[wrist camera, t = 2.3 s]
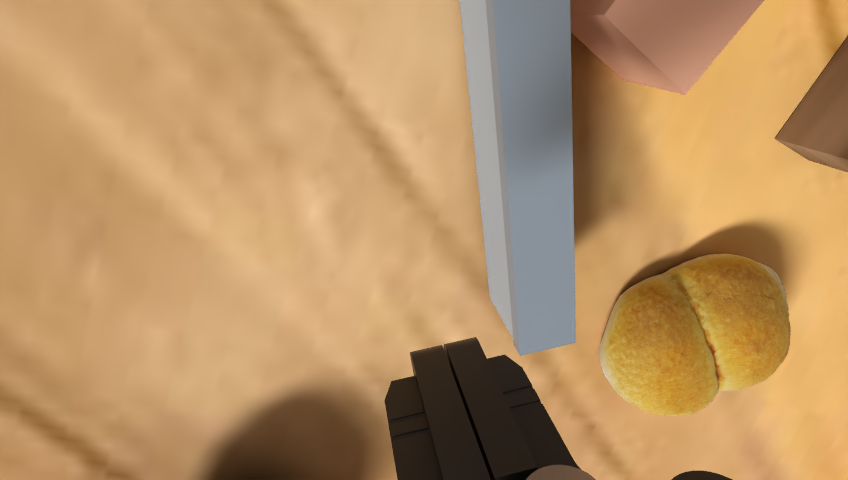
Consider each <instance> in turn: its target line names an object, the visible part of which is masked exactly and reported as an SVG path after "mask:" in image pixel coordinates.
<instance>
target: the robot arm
mask: <svg viewBox="0 0 848 480" xmlns="http://www.w3.org/2000/svg"><path fill="white" fill-rule="evenodd" d="M410 356H411V362H412V367H413V373H414V376H412V377H408V378H403V379H399V380H395V381H391V384H390V387H389V390H388V393H387V395H386V398H385V405H386V411H387V417H388V423H389V430H390V436H391V442H392V448H393V454H394V460H395V466H396V472H397V478H398V480H595V479H594V478H593V477H592V476H591V475H589V474H588V473H586V472H584V471H582V470H581V469H580V468H579V467H578V466H577V464H576V463H575V461H574V460H573V458H572V456H571V454H570V453H569V451H568V449H567V447H566V445H565V444H564V442H563V440H562V438H561V436H560V435H559V433H558V431H557V429H556V427H555V426H554V424H553V422H552V420H551V418H550V417H549V415H548V413H547V411H546V409H545V408H544V406H543V404H541V402H540V399H539V397H538V395H537V393H536V392H535V390H534V389H533V388H532V384H531V383H530V381H529V379H528V377H527V375H526V374H525V372H524V370H523V368H522V367H521V366H519V365H518V364H517V363H515V362H514V361H513V360H511V359H510V358H509V357H507V356H506V355H501V356H497V357H493V358H488V359H487V358H486V356H485V354H484V352H483V350H482V348H481V345H480V343H479V341H478V339H477V338H476V337H474V338H470V339H466V340H461V341H457V342H453V343H448V344H444V348H443V346H442V345H440V346H436V347H431V348H427V349H423V350H418V351H414V352H410ZM672 480H732V479H730V478H727V477H725V476H722V475H720V474H716V473H712V472H707V471H689V472H684V473H681V474H679V475H677V476H675V477H674V478H673V479H672Z"/></svg>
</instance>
